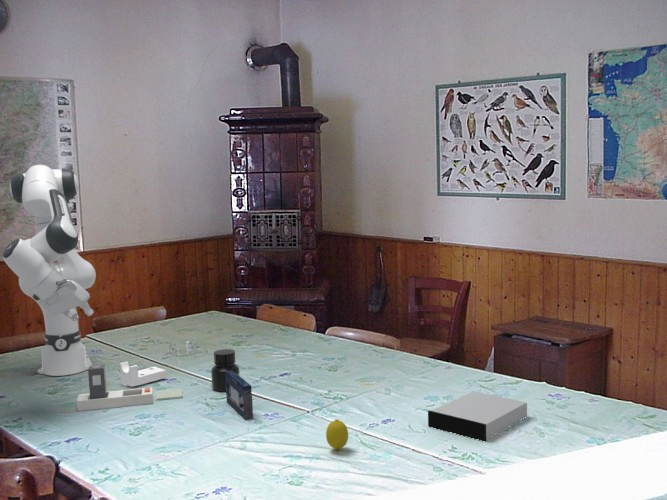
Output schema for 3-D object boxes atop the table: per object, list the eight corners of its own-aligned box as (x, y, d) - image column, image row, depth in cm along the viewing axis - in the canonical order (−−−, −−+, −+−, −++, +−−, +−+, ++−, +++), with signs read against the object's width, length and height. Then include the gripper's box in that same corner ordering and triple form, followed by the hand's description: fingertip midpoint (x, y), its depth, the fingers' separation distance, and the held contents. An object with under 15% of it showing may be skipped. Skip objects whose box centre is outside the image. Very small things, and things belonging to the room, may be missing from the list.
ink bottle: (246, 387, 246) (244, 351, 245) (225, 394, 240) (223, 357, 238) (227, 382, 253) (225, 346, 251) (205, 388, 246) (203, 352, 245)
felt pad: (156, 392, 244) (156, 391, 244) (181, 390, 245) (181, 388, 245) (156, 400, 236) (156, 398, 236) (182, 398, 238) (182, 396, 237)
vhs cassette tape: (226, 402, 232) (224, 370, 231) (235, 401, 233) (234, 369, 232) (243, 421, 216) (241, 387, 214) (253, 419, 217) (252, 385, 215)
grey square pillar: (91, 397, 235) (89, 365, 233) (106, 395, 236) (104, 364, 234) (90, 401, 230) (88, 369, 229) (105, 400, 231) (103, 368, 230)
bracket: (132, 389, 249) (130, 367, 248) (121, 385, 254) (119, 363, 253) (166, 380, 258) (165, 358, 257) (155, 376, 263) (153, 355, 262)
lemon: (325, 446, 195) (324, 416, 194) (347, 445, 195) (346, 415, 194) (327, 455, 189) (326, 424, 188) (349, 453, 190) (348, 422, 189)
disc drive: (427, 428, 206) (427, 410, 206) (472, 406, 223) (472, 389, 222) (484, 443, 194) (484, 425, 194) (527, 419, 211) (527, 401, 210)
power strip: (77, 410, 229) (76, 399, 228) (79, 403, 235) (79, 392, 235) (152, 403, 233) (152, 392, 233) (153, 396, 240) (152, 385, 240)
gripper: (72, 270, 220) (106, 303, 225) (42, 284, 234) (75, 315, 239) (58, 285, 216) (93, 318, 221) (29, 298, 230) (62, 329, 235)
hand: (84, 317), depth 230 cm, fingers open, 8 cm apart
